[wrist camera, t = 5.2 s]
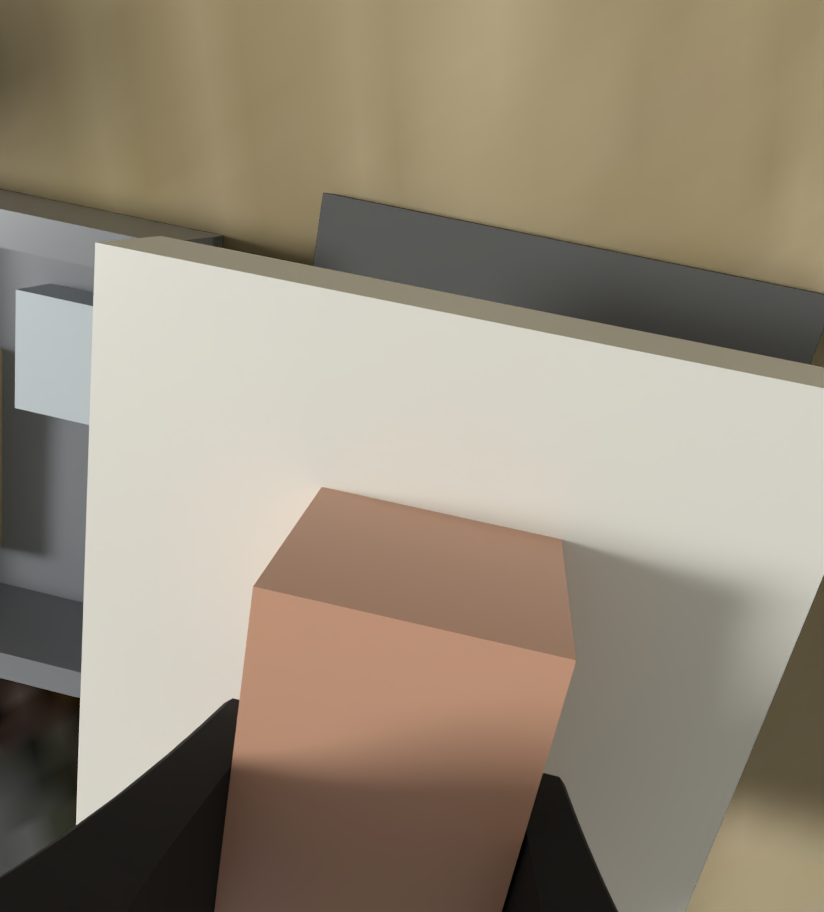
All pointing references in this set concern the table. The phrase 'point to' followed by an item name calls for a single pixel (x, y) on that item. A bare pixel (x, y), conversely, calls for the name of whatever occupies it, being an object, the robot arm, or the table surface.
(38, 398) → the storage box
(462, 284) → the mat
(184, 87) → the table surface
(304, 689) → the lid
